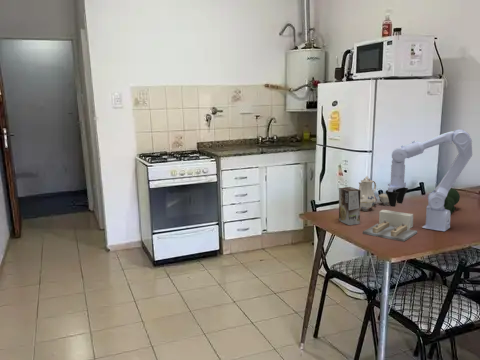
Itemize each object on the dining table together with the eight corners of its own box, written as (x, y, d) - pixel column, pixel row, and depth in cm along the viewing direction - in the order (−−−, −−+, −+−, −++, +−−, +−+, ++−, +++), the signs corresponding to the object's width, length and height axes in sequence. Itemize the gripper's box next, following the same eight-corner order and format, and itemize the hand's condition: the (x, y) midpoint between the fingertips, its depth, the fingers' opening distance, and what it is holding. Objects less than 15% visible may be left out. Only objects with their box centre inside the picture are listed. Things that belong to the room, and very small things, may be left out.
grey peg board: (417, 233, 185) (417, 222, 184) (403, 241, 175) (404, 230, 174) (377, 225, 197) (377, 216, 196) (362, 233, 187) (362, 223, 186)
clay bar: (412, 227, 194) (413, 214, 193) (409, 229, 191) (409, 216, 190) (382, 222, 203) (383, 209, 202) (379, 224, 200) (379, 211, 199)
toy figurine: (452, 221, 205) (461, 205, 224) (453, 183, 200) (463, 170, 220) (430, 218, 211) (442, 203, 230) (431, 181, 206) (443, 169, 225)
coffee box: (360, 224, 201) (361, 190, 198) (348, 225, 199) (348, 191, 196) (350, 219, 209) (350, 186, 206) (338, 220, 208) (338, 187, 205)
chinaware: (367, 216, 218) (371, 185, 214) (341, 208, 231) (344, 177, 226) (398, 206, 236) (402, 177, 231) (371, 199, 248) (375, 170, 243)
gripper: (395, 172, 201) (394, 200, 203) (381, 176, 190) (380, 206, 193) (410, 173, 196) (409, 202, 199) (397, 178, 186) (396, 209, 188)
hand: (396, 204), depth 196 cm, fingers open, 7 cm apart
